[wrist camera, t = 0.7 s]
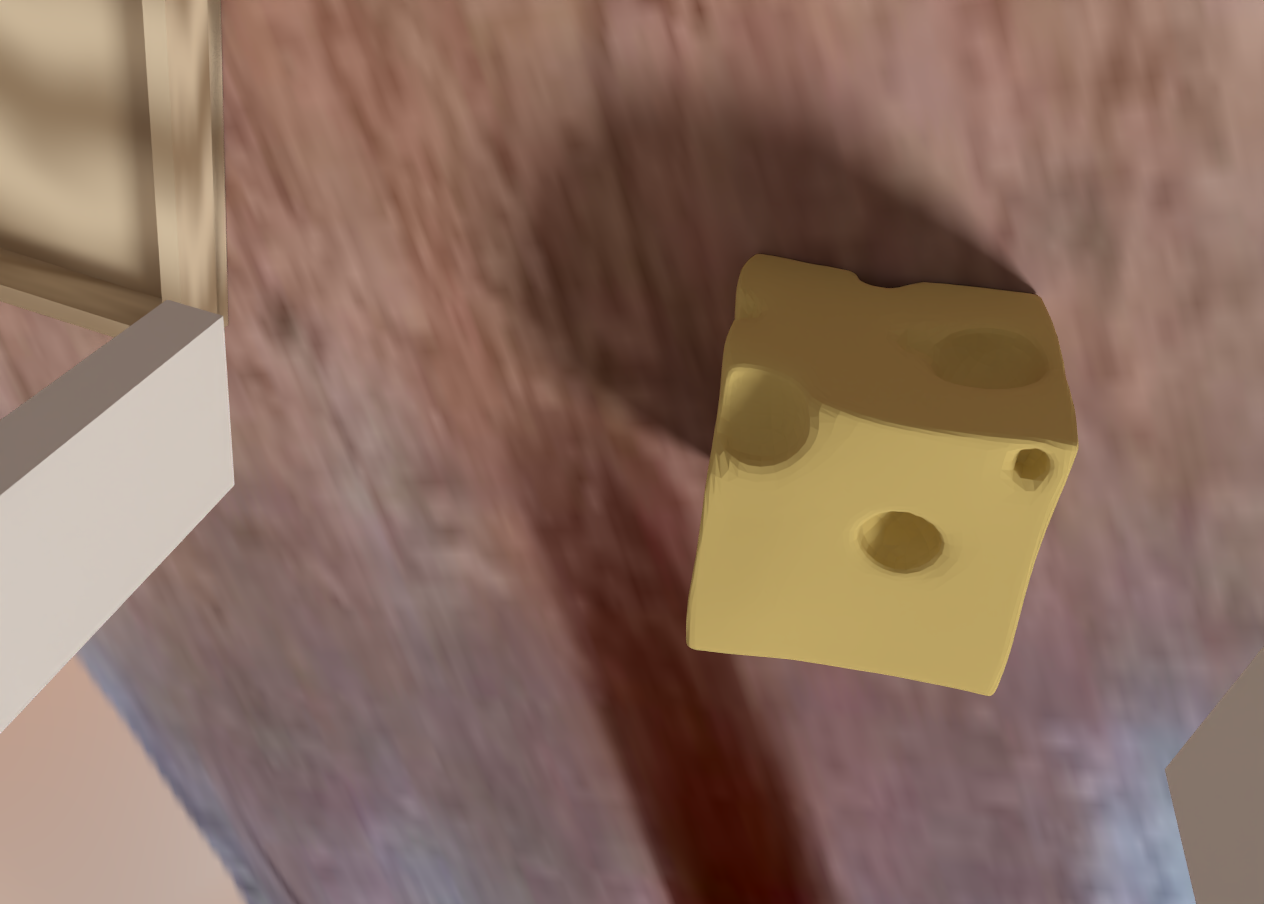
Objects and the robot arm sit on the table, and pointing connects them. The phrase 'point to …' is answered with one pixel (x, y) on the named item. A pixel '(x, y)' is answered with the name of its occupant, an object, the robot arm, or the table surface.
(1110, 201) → the table surface
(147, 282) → the tray
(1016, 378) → the cheese
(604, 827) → the table surface
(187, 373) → the robot arm
